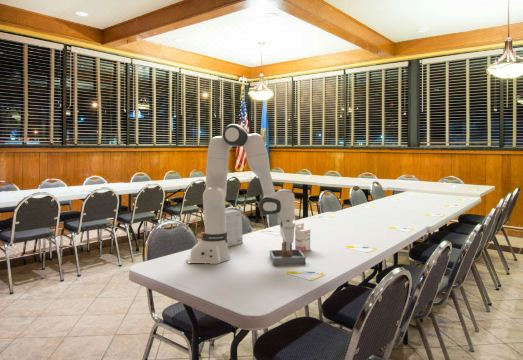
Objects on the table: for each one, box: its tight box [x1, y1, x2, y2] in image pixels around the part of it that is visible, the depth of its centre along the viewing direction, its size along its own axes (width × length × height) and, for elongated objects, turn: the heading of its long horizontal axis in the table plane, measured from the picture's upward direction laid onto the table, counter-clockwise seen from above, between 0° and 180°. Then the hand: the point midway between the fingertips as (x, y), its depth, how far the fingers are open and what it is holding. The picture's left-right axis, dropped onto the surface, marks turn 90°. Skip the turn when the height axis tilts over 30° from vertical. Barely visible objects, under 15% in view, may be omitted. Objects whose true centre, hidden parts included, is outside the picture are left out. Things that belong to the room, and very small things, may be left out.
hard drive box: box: [225, 209, 244, 248], centre depth 241 cm, size 16×8×20 cm, turn 135°
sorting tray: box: [269, 248, 307, 267], centre depth 205 cm, size 16×16×4 cm
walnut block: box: [281, 241, 293, 258], centre depth 205 cm, size 4×4×8 cm
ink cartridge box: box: [294, 222, 311, 253], centre depth 225 cm, size 9×5×15 cm, turn 141°
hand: (286, 248), depth 205 cm, fingers open, 8 cm apart
